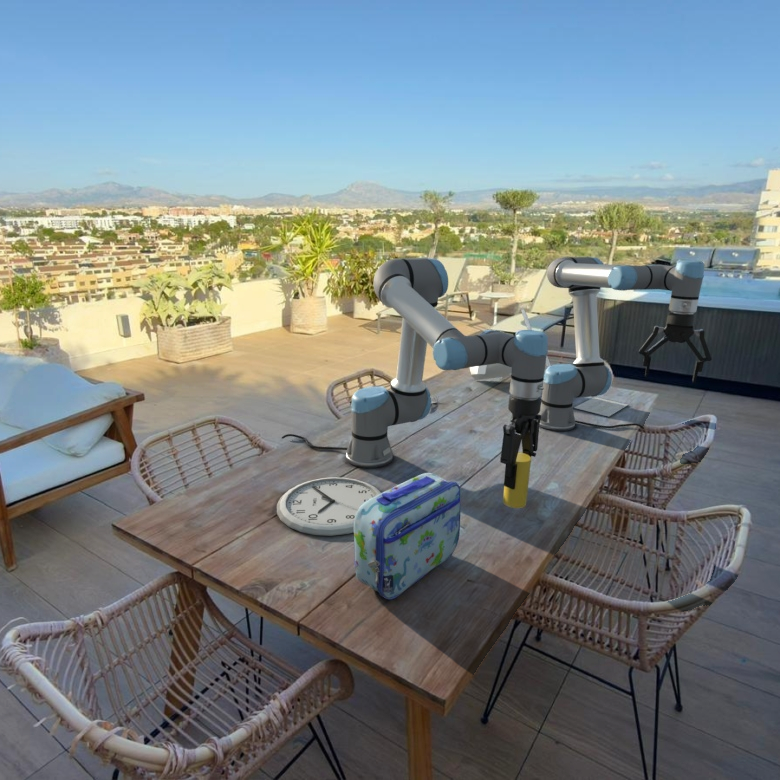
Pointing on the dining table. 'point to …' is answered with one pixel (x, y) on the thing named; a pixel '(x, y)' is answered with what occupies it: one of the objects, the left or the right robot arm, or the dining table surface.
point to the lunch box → (406, 533)
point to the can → (519, 483)
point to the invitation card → (601, 406)
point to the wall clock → (324, 505)
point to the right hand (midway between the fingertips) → (669, 378)
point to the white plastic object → (498, 369)
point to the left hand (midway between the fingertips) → (516, 482)
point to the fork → (434, 401)
